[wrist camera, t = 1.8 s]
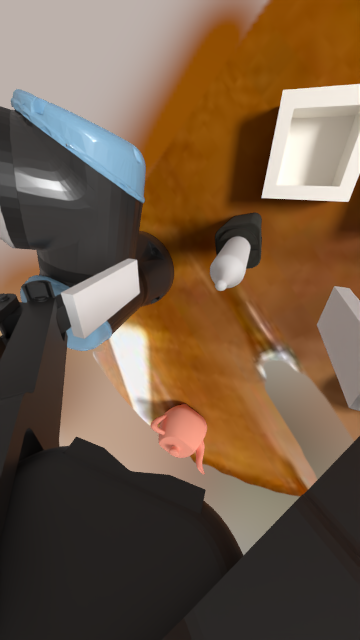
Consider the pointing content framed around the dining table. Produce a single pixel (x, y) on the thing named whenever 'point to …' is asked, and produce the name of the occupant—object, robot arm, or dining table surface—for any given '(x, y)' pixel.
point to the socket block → (315, 145)
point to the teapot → (182, 433)
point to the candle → (236, 250)
